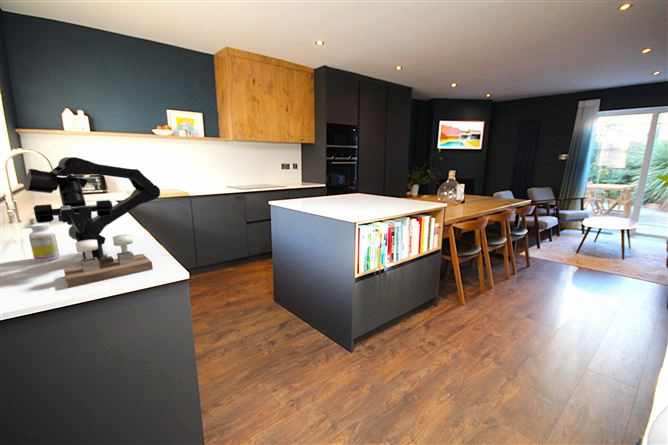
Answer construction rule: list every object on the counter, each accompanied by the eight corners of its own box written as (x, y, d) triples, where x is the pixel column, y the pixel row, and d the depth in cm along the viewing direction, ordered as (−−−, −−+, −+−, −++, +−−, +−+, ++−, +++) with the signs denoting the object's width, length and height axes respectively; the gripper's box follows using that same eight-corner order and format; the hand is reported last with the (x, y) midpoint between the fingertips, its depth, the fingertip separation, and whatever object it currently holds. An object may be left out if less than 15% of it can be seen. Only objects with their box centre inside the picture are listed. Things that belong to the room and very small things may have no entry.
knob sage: (114, 253, 97) (111, 236, 96) (132, 249, 100) (129, 233, 99) (117, 256, 93) (114, 239, 92) (135, 253, 97) (133, 236, 96)
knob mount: (65, 276, 92) (61, 259, 91) (143, 260, 107) (141, 245, 106) (68, 288, 84) (64, 269, 83) (152, 269, 98) (150, 253, 97)
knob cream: (78, 259, 91) (74, 241, 90) (98, 255, 94) (95, 238, 93) (79, 263, 87) (76, 245, 86) (101, 259, 91) (98, 241, 90)
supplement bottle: (45, 256, 112) (38, 222, 109) (64, 255, 112) (57, 222, 109) (29, 262, 105) (21, 226, 102) (49, 261, 106) (41, 226, 103)
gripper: (106, 205, 110) (116, 240, 104) (35, 211, 97) (42, 251, 92) (107, 185, 102) (117, 222, 97) (30, 189, 90) (37, 231, 84)
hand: (80, 232), depth 93 cm, fingers closed
